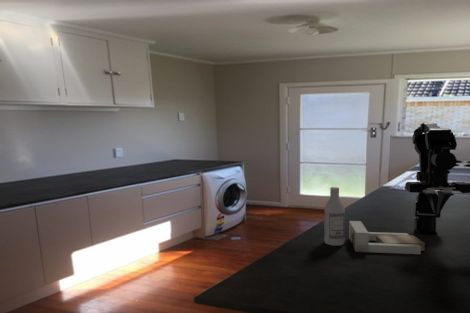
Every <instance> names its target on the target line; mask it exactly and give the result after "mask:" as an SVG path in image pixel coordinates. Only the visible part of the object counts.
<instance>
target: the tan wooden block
mask: <svg viewBox="0 0 470 313" xmlns="http://www.w3.org/2000/svg"><path fill="white" fill-rule="evenodd" d="M375 243H387V244H415V245H420V246H421V251H425V250H426V249H425V248H426V247H425V246H426V245H425V244H426V243H425V242H424V241H423V240H421V239H419V238H418V237H416V236H415V235H413V234H412V235H410V234H408V235H386V236H376V241H375Z"/></svg>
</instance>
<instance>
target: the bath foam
mask: <svg viewBox="0 0 470 313" xmlns="http://www.w3.org/2000/svg"><path fill="white" fill-rule="evenodd" d="M329 190H330V192H329V194H330V197H329V199H328V201H327V202H326V203H325V206H324V213H323V214H324V217H323V220H324V222H323V224H324V225H323V226H324V227H323V228H324V230H323V231H324V233H323V235H324V237H323V238H324V239H323V240H324V244H326V245H328V246H333V247H334V246H335V247H337V246H338V247H339V246H343V245H344V244H345V240H346V239H345V236H346V232H345V231H346V228H345V226H346V220H345V219H346V218H345V217H346V211H345V209H346V208H345V206H344V204H343V202H342V200H341V199H340V188H339V187H338V186H331V187H330V189H329Z"/></svg>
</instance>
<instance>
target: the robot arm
mask: <svg viewBox="0 0 470 313" xmlns="http://www.w3.org/2000/svg"><path fill="white" fill-rule="evenodd" d="M412 144H413V147H414V150H415V152H416V153H417V155H418V157H419V158H418V163H419V171H417V172H416V174H415V176H416V178H415V179H416V181H407V182H406V183H405V185H404V190H405V191H407V192H408V193H414V194H417V193H418V194H417V196H416V197H415V201H414V204H413V206H412V213H413V216H414V217H415V218H413V219H414V220H413V221H414V223H413V229H414V230H415V231H416V232H417V233H418V234H424V235H438V232H437V218H438V219H440V217H441V214H442V213H441V212H442V210H443V208H444V206H445V205H446V203H447V202H448V200H449V199H450V198H451V196H455V194H454V193H453V191H459V192H460V193H461V194H470V183H468V182H464V181H452V183H450V182H449V174H450V173H451V172H450V170H452V169H453V168H455V167H456V165H457V162H458V161H457V157H456V156H455V154H454V153H452V152H451V151H455V150H457V145H458V144H457V140H456V136H455V134H454V132H453V131H452V130H451V128H449V127H448V128H441V127H440V126H439V125H437V122H435V121H423V122H421V123H420V126H419V127H417V128H416V129H414V131H413V133H412ZM436 191H437V193H436Z"/></svg>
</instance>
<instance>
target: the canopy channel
mask: <svg viewBox="0 0 470 313" xmlns="http://www.w3.org/2000/svg"><path fill="white" fill-rule="evenodd" d="M348 226H349V227H348V230H349V232H348V235H349V241H350V242H351V243H353V244H352V246H353V249H354V251H355V252H357V253H377V254H379V253H382V254H405V255H421V253H422V250H421V246H420V245H415V244H387V243H376V236H386V235H409V234H408V233H406V232H381V231H380V232H375V231H374V232H372V231H368V230H367V228H366V226H365V225H364V224H363V222H362V221H361V220H349V224H348ZM370 241H371V242H370ZM372 241H373V242H372ZM374 241H375V242H374Z"/></svg>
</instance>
